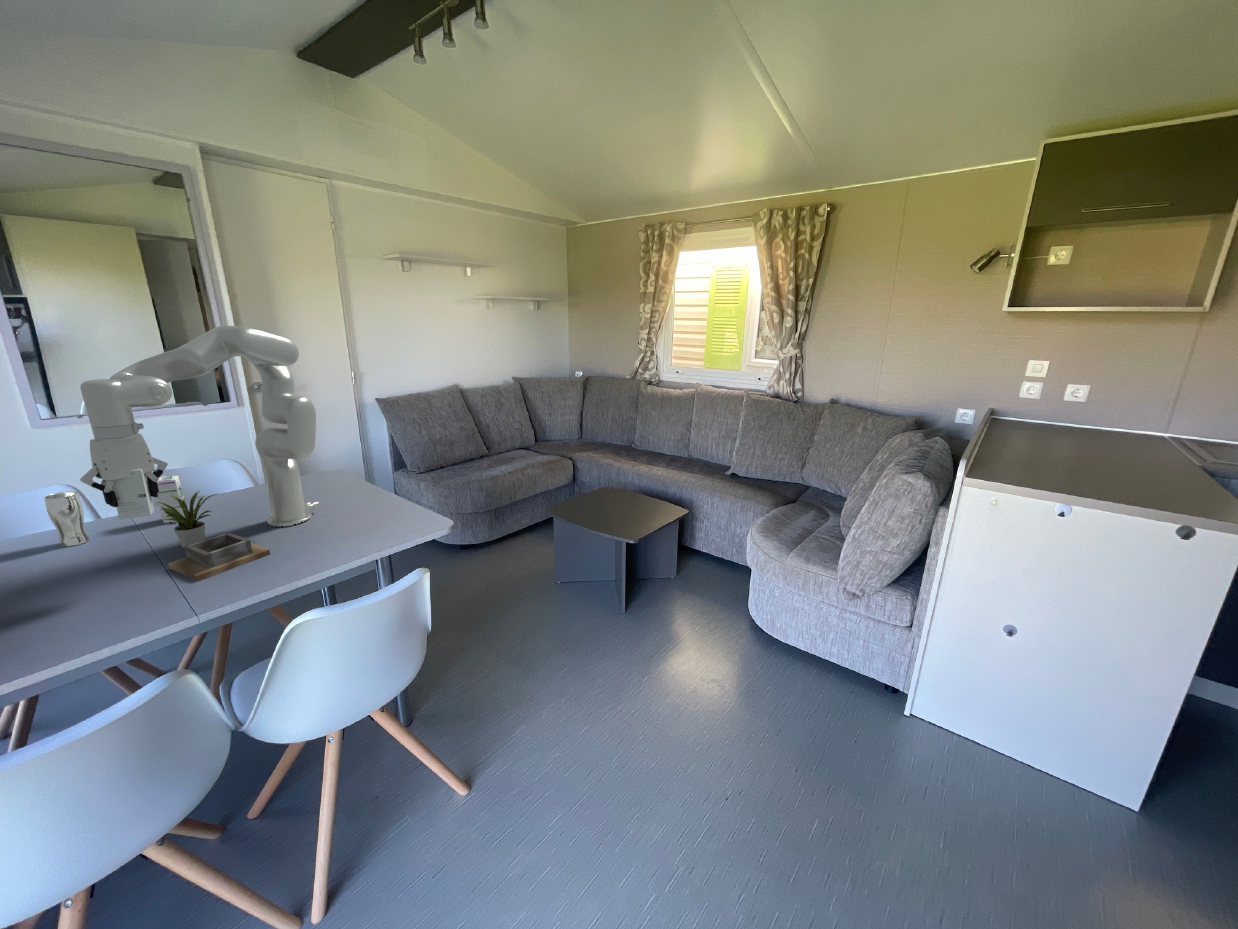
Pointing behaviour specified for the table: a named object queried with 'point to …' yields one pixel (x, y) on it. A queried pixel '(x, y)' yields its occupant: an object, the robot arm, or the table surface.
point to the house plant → (187, 521)
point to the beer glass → (67, 517)
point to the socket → (217, 556)
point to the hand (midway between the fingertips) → (134, 500)
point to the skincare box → (133, 496)
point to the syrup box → (169, 494)
